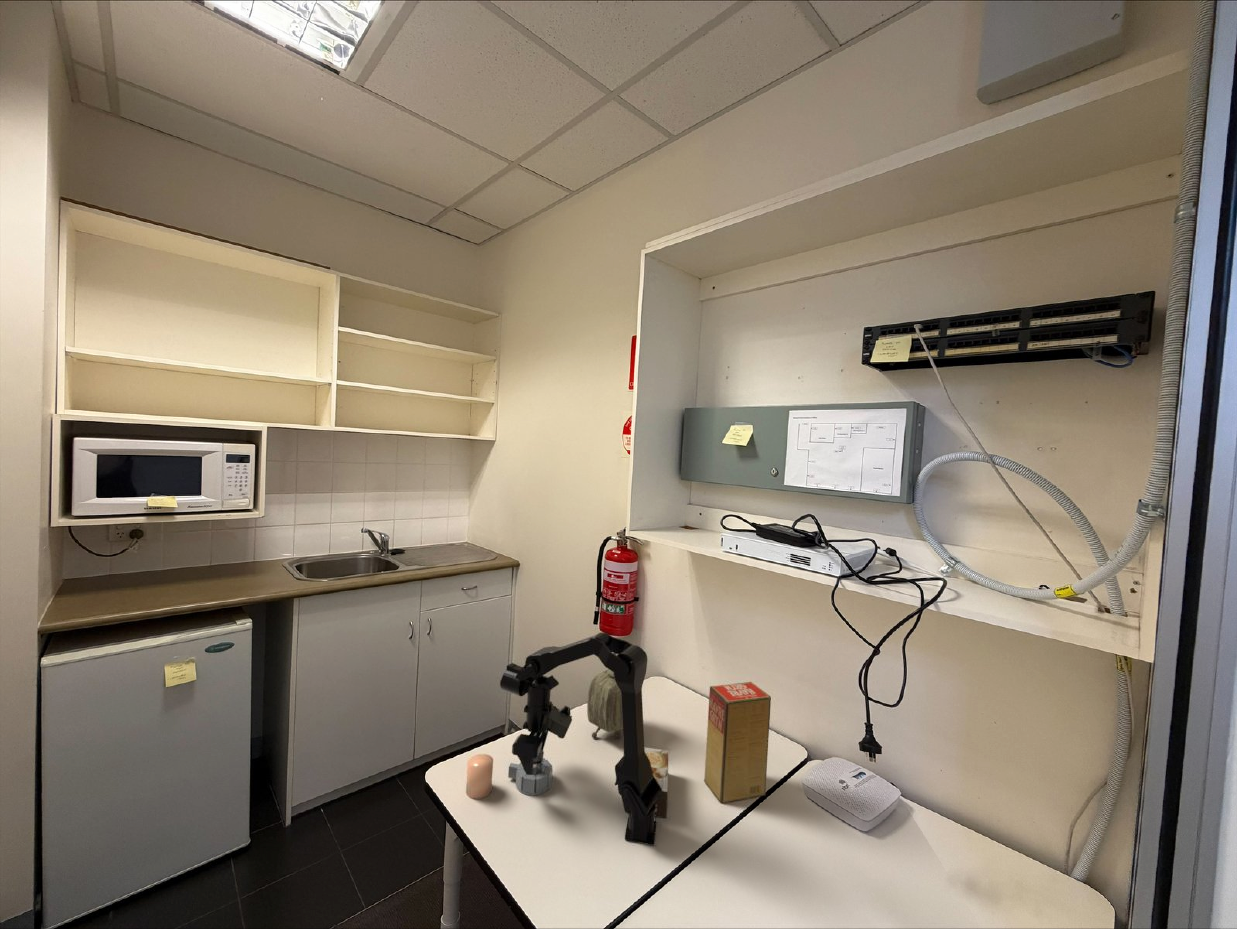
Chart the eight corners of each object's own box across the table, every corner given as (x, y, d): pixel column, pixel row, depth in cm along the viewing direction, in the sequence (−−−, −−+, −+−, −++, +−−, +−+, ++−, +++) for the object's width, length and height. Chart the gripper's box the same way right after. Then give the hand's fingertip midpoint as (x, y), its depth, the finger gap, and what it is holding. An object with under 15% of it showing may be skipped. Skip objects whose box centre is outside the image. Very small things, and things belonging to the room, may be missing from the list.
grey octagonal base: (545, 798, 115) (546, 782, 115) (502, 790, 117) (503, 775, 117) (555, 774, 124) (556, 760, 124) (515, 767, 125) (516, 753, 125)
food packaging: (746, 771, 129) (752, 680, 129) (767, 795, 120) (773, 697, 120) (702, 779, 125) (708, 685, 125) (720, 805, 116) (727, 703, 116)
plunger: (539, 786, 117) (541, 759, 117) (522, 783, 118) (524, 756, 118) (545, 775, 122) (546, 748, 122) (528, 772, 122) (530, 746, 122)
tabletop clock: (617, 719, 151) (622, 641, 151) (640, 731, 145) (645, 650, 145) (585, 738, 140) (590, 653, 140) (608, 752, 134) (613, 663, 134)
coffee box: (633, 769, 128) (626, 813, 112) (635, 745, 128) (628, 785, 112) (668, 774, 127) (666, 819, 111) (669, 750, 126) (668, 791, 111)
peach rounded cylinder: (485, 800, 113) (487, 771, 113) (461, 797, 114) (463, 767, 114) (495, 783, 119) (497, 755, 119) (472, 780, 120) (474, 752, 120)
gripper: (559, 726, 109) (555, 793, 109) (578, 687, 128) (575, 745, 128) (513, 719, 111) (509, 785, 111) (538, 682, 129) (535, 739, 130)
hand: (534, 762), depth 120 cm, fingers open, 9 cm apart
